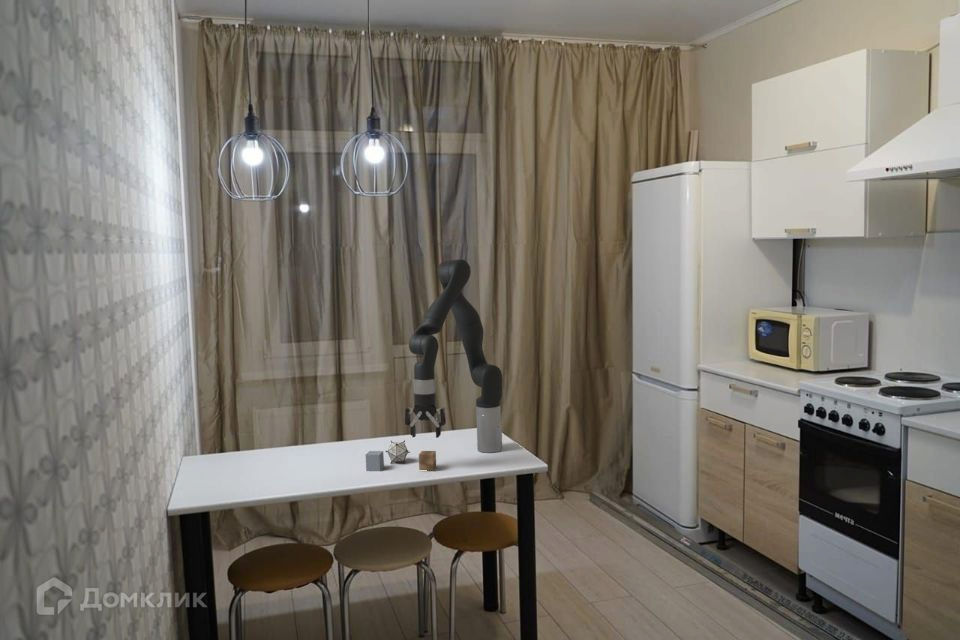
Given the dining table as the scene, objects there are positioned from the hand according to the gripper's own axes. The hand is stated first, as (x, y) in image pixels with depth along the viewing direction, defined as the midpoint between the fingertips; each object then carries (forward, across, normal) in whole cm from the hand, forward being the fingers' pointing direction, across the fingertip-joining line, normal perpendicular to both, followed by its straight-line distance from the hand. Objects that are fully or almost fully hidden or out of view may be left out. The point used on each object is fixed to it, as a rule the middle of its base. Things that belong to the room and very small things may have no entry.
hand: (425, 437), depth 266 cm
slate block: (+12, +18, +1) cm, 22 cm away
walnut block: (+12, 0, 0) cm, 12 cm away
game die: (+12, +13, -8) cm, 19 cm away
